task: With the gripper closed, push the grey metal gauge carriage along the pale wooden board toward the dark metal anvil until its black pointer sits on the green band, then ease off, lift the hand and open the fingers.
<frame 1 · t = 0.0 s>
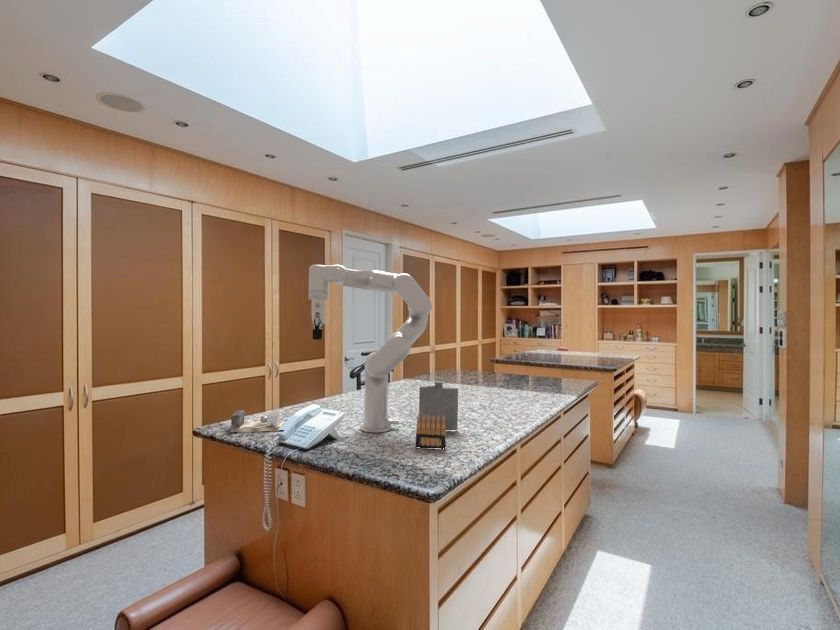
hand: (317, 338, 172), 37 cm above the worktop, tool pointing down, fingers open, 9 cm apart
gauge carriage: (269, 420, 174), point 4 cm above the worktop, slide at 0.0 cm
gauge base: (260, 428, 174), on the worktop
ammunition clip: (430, 449, 153), on the worktop
hip flask: (437, 430, 177), on the worktop
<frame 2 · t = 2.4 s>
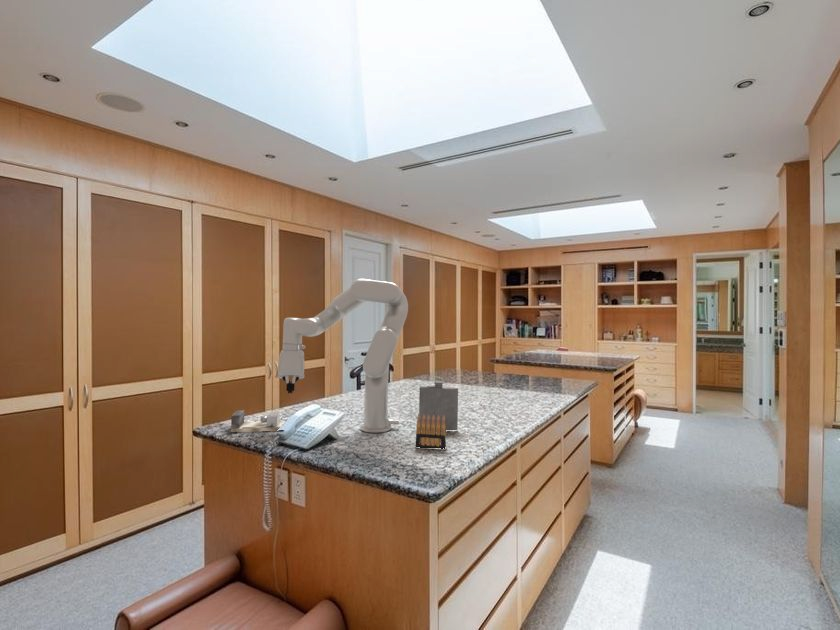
hand: (290, 392, 176), 14 cm above the worktop, tool pointing down, fingers closed
nothing on the worktop moved.
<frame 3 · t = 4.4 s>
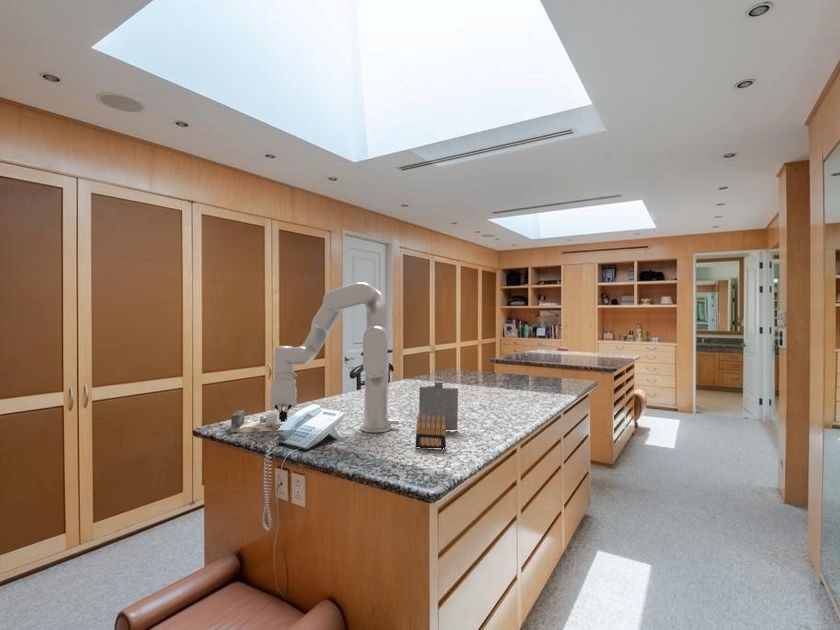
hand: (283, 421, 176), 3 cm above the worktop, tool pointing down, fingers closed
gauge carriage: (268, 420, 174), point 4 cm above the worktop, slide at 0.4 cm, touching gripper
everything else where it was.
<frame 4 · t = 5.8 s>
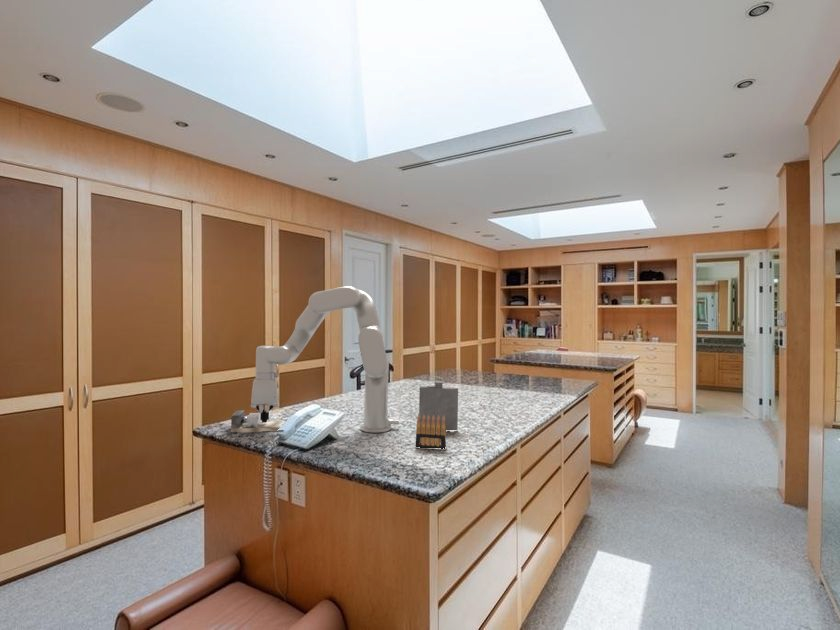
hand: (264, 421, 175), 3 cm above the worktop, tool pointing down, fingers closed
gauge carriage: (249, 420, 172), point 4 cm above the worktop, slide at 7.5 cm, touching gauge base, gripper
everything else where it was.
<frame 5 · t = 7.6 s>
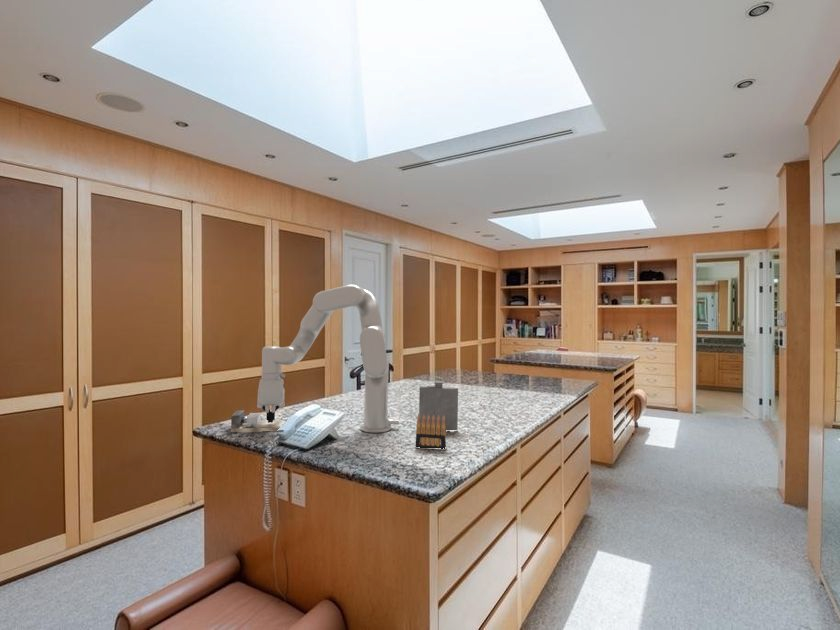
hand: (270, 421, 175), 3 cm above the worktop, tool pointing down, fingers closed
gauge carriage: (249, 420, 172), point 4 cm above the worktop, slide at 7.5 cm, touching gauge base
everything else where it was.
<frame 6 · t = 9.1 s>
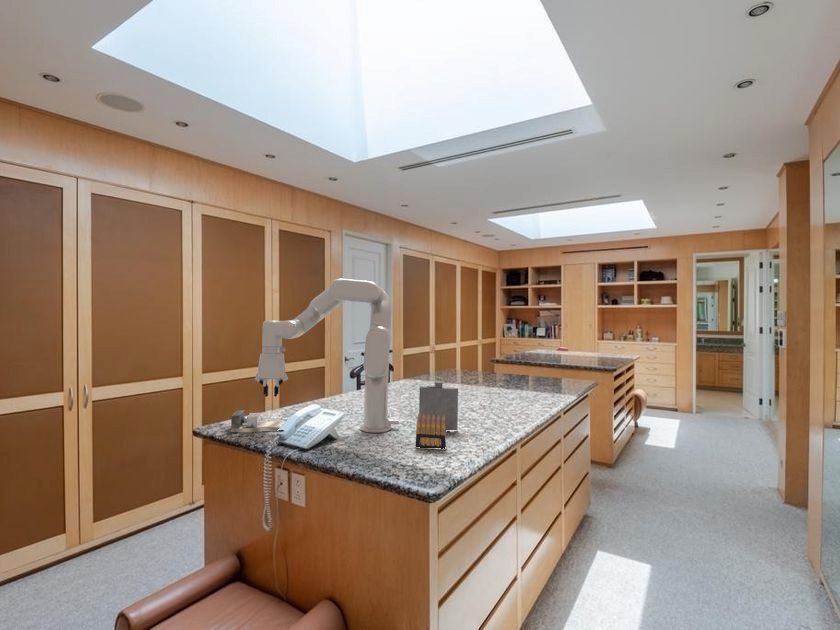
hand: (271, 395, 175), 13 cm above the worktop, tool pointing down, fingers closed
nothing on the worktop moved.
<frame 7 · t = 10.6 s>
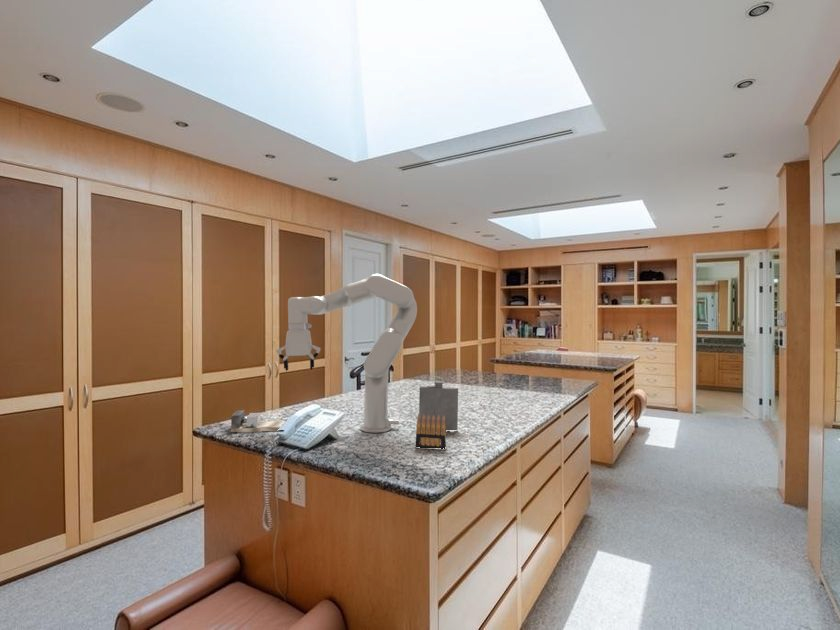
hand: (299, 369, 175), 24 cm above the worktop, tool pointing down, fingers open, 9 cm apart
nothing on the worktop moved.
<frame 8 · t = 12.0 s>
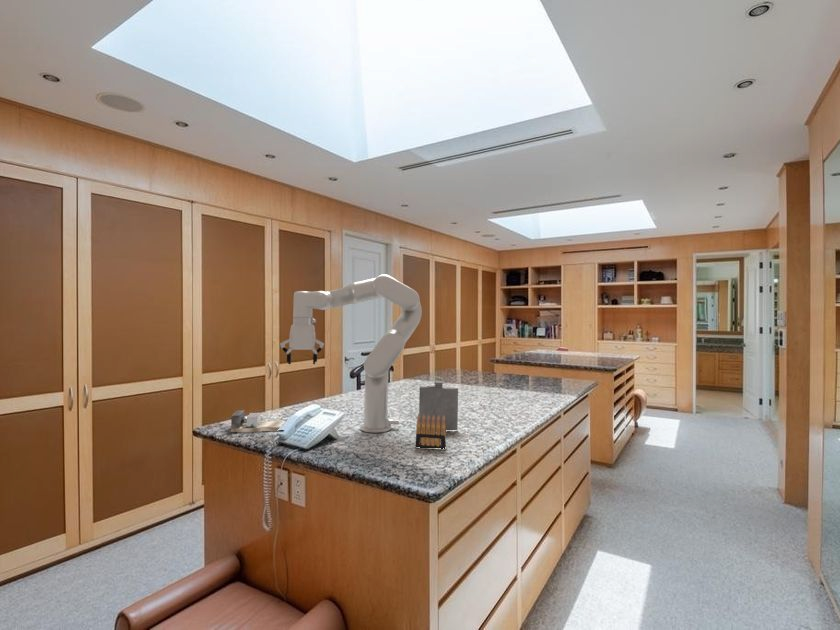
hand: (301, 363, 175), 26 cm above the worktop, tool pointing down, fingers open, 9 cm apart
nothing on the worktop moved.
at the end: gauge carriage slide at 7.5 cm; the gripper is holding nothing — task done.
